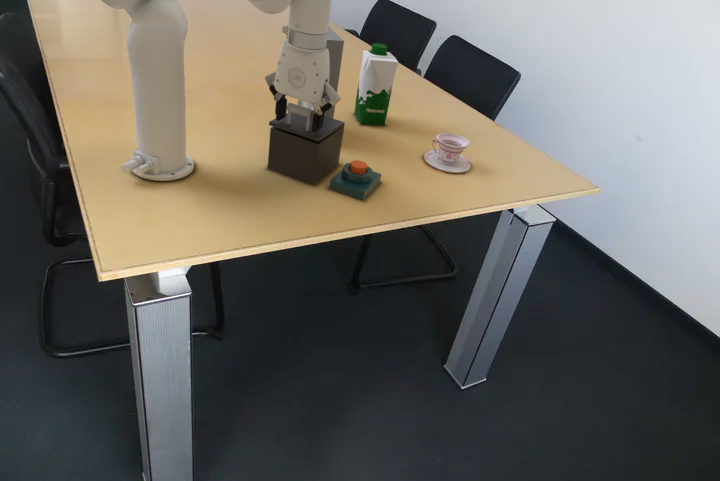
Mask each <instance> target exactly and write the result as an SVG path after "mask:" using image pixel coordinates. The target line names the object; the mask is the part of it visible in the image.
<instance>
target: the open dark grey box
mask: <svg viewBox="0 0 720 481" xmlns="http://www.w3.org/2000/svg"><path fill="white" fill-rule="evenodd" d="M344 130H345V125H344V126H343V127H341V128H340V129H338V130H336V131H335V132H333V133H331V134H330V135H328V136H326V137H325V138H323V139H321V140H320V141H315V140H312V139H309V138H306V137H303V136H300V135H297V134H294V133H291V132H288V131H285V130H282V129H279V128H276V127H273V126H270V131H269V143H268V144H269V145H268V158H267V170H268V171H269V170H270V171H272V172H275V173H277V174H280V175H283V176H285V177H289V178H291V179H295V180H297V181H300V182H303V183H306V184H308V185H311V186H316V185H317V184H319V182H321V180H322V179H323V178H325V177H326V176H327V175H329V174H330V173H331V172H332V171H333V170H334V169H335V168H336V167H337V166H339V163H340V157H341V150H342V144H343V136H344Z"/></svg>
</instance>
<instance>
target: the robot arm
mask: <svg viewBox="0 0 720 481" xmlns="http://www.w3.org/2000/svg"><path fill="white" fill-rule="evenodd" d="M100 1H101V2H102V3H103V4H105V5H107V6H108V7H110V8H112V9H117V10H125V12H126V13H127V14H128V16H129V17H130V19H131V21H130V23H129V26H128V28H127V34H126V45H127V47H126V48H127V54H128V60H129V66H130V75H131V87H132V96H133V110H134V111H133V112H134V126H135V127H134V128H135V140H136V141H135V142H136V149H135V150H133V156H132V157H131V158H130V160H129V161H126V162H124V163H122V164H121V166H120V169H121V171H122V172H123V173H124V174H129V173H131V172H132V173H133V174H135V175H136V176H138V177H140V178H142V179H146V180H150V181H156V182H168V181H169V182H170V181H175V180H180V179H183V178H185V177H187V176H188V175H189V176H190V175H191V173H192V172H193V171H194V168H195V163H194V162H195V161H194V160H193V158H192V157H191V156H190V155H188V154H187V130H186V129H187V125H186V123H187V122H186V78H185V43H186V40H187V35H188V29H189V24H188V17H187V15H186V13H185V11H184V9H183V7H182V6H181V4H180V3H179V0H100ZM247 1H248V2H249V3H250V4H251V5H252V6H254V7H255V8H256V9H257V10H259V11H261V12H262V13H264V14H269V15H277V14H280V13H282V12H284V11H285V10H287V9H288V7H289V14H288V15H289V16H288V25H283V26H282V28H281V32H282V33H283V34H285V35H286V40H284V41H283V42H282V44H281V47H280V51H279V55H278V59H277V62H276V71H273V72H271V73H269V74H267V75H265V76H264V80H265V82H266V84H267V86H268V89H269V91H270V93H271V95H272V96H273V100H274V101H275V109H274V110H275V111H274V112H275V113H274V115H275V119H276V120H278V121H279V120H281V119H283V118H285V117H286V114H287V105H288V98H286V97H290V98H293V99H296V100H298V99H299V100H303V101H306V102H309V103H313V105H314V108H315V110H316V113H315V114H314V115H313V123H312V132H314V133H315V132H317V131H318V130H320V129H321V128H322V127H323V122H324V114H325V112H326V111H327V110H329V109H331V108H332V107H333V106H334V105H335V106H336V105H337V104H338V103H339V102H340V101H341V96H340V95H339V93H338V92H337V93H336V91H335V90H334V89H333V88H332V87H331V85H330V84H329V74H330V60H329V50H328V49H327V48H326V44H327V36H328V27H330V21H331V20H330V18H331V13H332V12H331V10H332V2H333V0H247ZM327 95H328V96H329V97H330V101H329V102H328V103H327V104H326V103H325V100H324V98H325V97H326V96H327Z"/></svg>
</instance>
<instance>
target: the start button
mask: <svg viewBox="0 0 720 481" xmlns="http://www.w3.org/2000/svg"><path fill="white" fill-rule="evenodd" d="M350 163H351V164H350V171H351V172H352V173H355V174H365V173H366V169H367V166H368V164H367V162H365V161H363V160H357V159H354V160H351V162H350Z"/></svg>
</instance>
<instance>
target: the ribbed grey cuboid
mask: <svg viewBox="0 0 720 481" xmlns="http://www.w3.org/2000/svg"><path fill="white" fill-rule="evenodd" d="M344 45H345V40H344V39H343V38H342V37H341V36H340V35H339V34H338V33H336V31H335V30H333V29H332V28H331V27H330V26H329V27H328V36H327V44H326V48H327V49H328V50H329V60H330V74H329V84H330V85H331V87H332V88H333V89H334V90H335V91H336V93H337V94H338V87H339V81H340V74H341V66H342V61H343V60H342V59H343V52H344ZM324 100H325V103H326V104H327V103H328V102H329V101H330V97H329V96H328V95H327V96H326V97H325V98H324ZM297 105H299V106H302V107H305V108H308V109H311V110H314V113H316V110H315V108H314V105H313V103H309V102H306V101H303V100H299V99H297ZM335 109H336V104H335V105H334V106H333V107H332V108H331V109H329V110H327V111H326V112H325V114H324V116H327V117H330V118H333V119H335V118H334V117H335Z"/></svg>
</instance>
